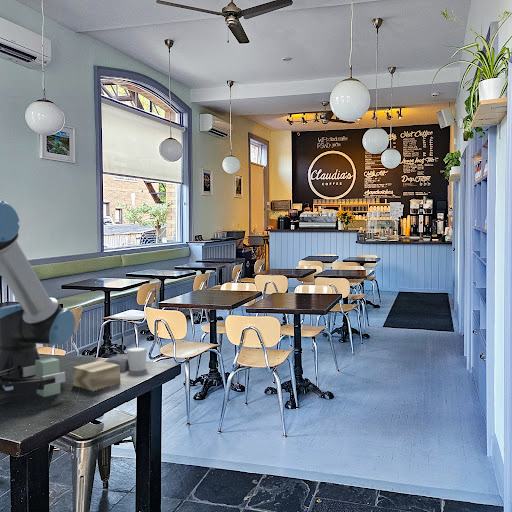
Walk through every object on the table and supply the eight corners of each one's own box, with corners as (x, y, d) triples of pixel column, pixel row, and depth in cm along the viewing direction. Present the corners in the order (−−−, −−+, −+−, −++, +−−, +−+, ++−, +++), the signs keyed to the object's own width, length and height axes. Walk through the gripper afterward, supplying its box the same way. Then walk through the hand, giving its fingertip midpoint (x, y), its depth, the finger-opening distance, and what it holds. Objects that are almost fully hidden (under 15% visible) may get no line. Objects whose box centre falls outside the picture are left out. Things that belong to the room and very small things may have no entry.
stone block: (99, 376, 185) (126, 371, 183) (96, 362, 185) (123, 357, 183) (114, 368, 197) (140, 363, 195) (112, 355, 197) (137, 350, 195)
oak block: (73, 386, 168) (73, 367, 168) (100, 378, 176) (100, 360, 176) (93, 392, 162) (92, 372, 162) (120, 384, 170) (119, 365, 169)
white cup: (151, 367, 188) (151, 347, 188) (139, 372, 182) (139, 352, 182) (135, 365, 191) (134, 345, 191) (122, 370, 185) (122, 350, 184)
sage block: (36, 393, 160) (35, 360, 160) (53, 389, 164) (51, 356, 163) (43, 397, 157) (42, 363, 156) (60, 393, 160) (59, 359, 160)
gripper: (-37, 391, 155) (37, 376, 170) (-5, 412, 138) (74, 393, 153) (-38, 366, 155) (36, 353, 170) (-7, 383, 137) (73, 367, 152)
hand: (54, 372), depth 161 cm, fingers open, 13 cm apart
